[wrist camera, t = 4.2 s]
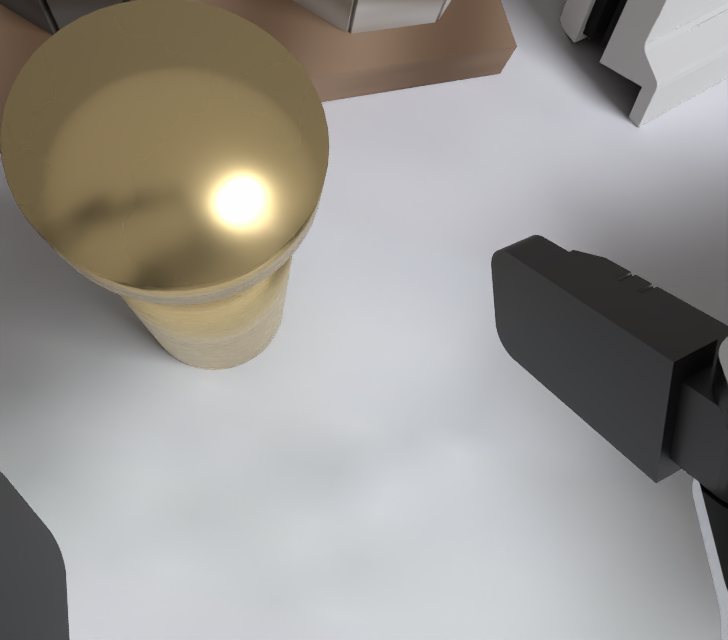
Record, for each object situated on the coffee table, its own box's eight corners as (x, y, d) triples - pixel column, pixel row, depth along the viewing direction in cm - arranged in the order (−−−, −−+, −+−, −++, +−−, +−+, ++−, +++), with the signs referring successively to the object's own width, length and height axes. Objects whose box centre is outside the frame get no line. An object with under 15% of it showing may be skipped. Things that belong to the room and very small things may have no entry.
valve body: (154, 397, 18) (31, 321, 8) (122, 248, 19) (-24, 19, 9) (309, 358, 19) (364, 250, 9) (272, 218, 20) (287, -18, 10)
